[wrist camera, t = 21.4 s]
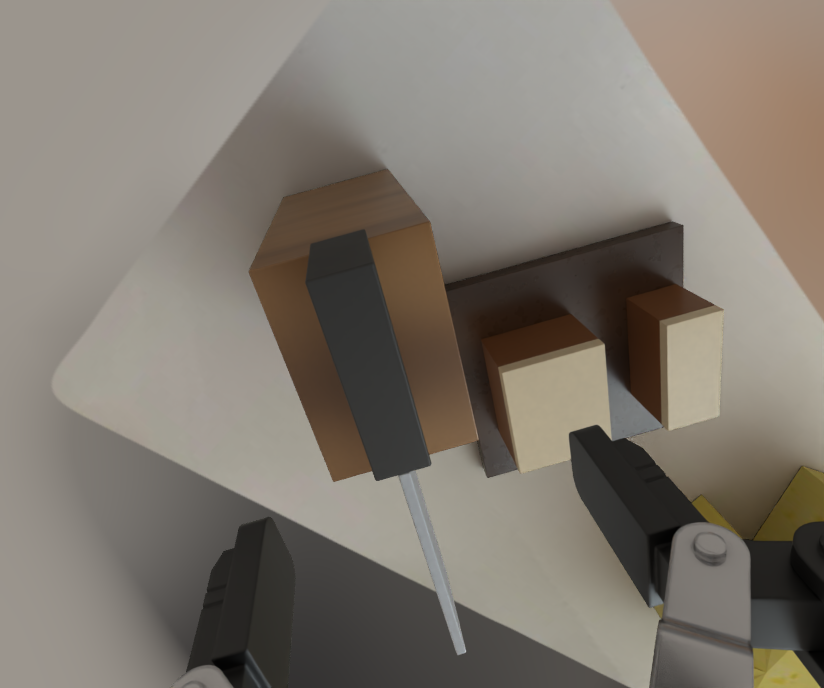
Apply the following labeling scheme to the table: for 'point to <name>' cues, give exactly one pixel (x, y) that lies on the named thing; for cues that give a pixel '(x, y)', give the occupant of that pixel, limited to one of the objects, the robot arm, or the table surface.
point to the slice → (675, 355)
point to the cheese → (800, 504)
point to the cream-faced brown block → (546, 388)
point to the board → (558, 296)
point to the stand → (406, 301)
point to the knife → (376, 383)
